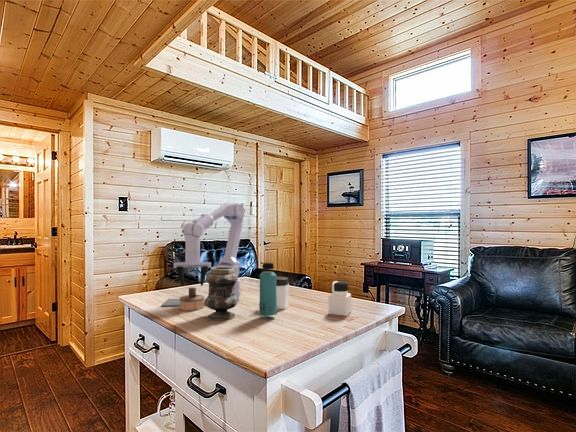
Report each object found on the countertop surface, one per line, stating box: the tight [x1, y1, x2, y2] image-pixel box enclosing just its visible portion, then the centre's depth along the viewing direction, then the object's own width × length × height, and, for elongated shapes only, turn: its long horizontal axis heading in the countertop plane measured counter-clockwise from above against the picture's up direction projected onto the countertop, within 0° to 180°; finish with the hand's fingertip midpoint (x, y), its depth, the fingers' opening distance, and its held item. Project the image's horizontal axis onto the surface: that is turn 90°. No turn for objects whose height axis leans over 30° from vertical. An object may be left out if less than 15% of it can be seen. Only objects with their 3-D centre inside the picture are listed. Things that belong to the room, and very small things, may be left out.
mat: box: [160, 298, 180, 308], centre depth 142 cm, size 12×12×1 cm
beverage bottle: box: [258, 262, 278, 317], centre depth 121 cm, size 6×7×20 cm
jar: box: [276, 275, 290, 310], centre depth 136 cm, size 9×8×12 cm
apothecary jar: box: [204, 266, 239, 321], centre depth 122 cm, size 12×12×18 cm
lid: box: [179, 287, 205, 302], centre depth 134 cm, size 10×10×4 cm
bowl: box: [179, 299, 205, 312], centre depth 134 cm, size 9×9×4 cm
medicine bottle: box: [328, 280, 352, 317], centre depth 127 cm, size 7×7×12 cm
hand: (192, 285), depth 134 cm, fingers open, 7 cm apart
